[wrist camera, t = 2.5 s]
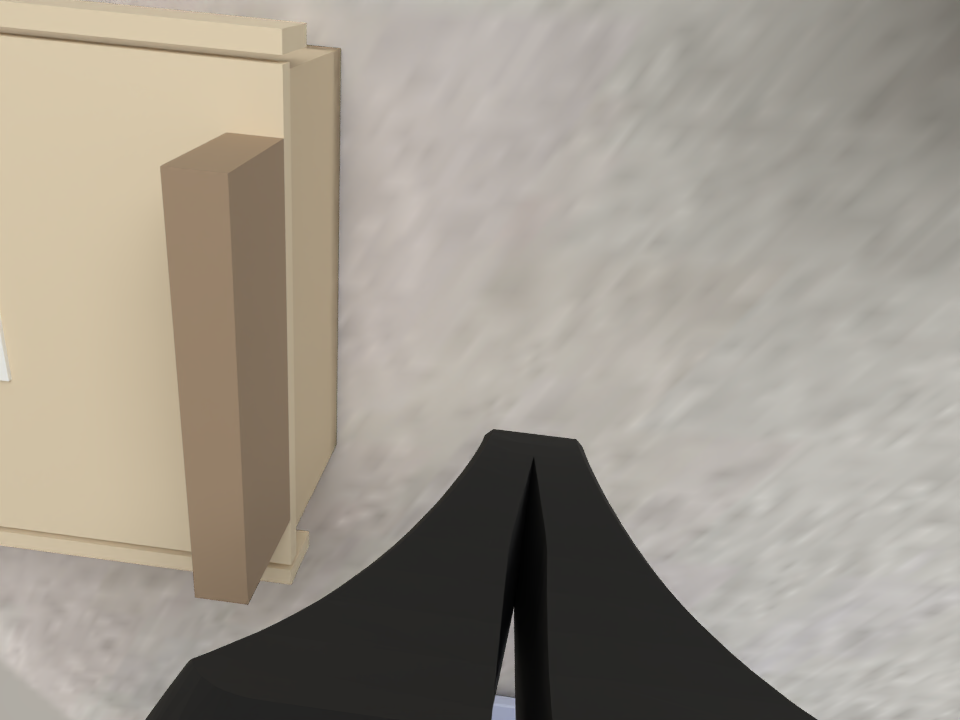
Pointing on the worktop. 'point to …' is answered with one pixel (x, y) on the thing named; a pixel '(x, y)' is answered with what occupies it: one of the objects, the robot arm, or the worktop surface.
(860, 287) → the worktop surface
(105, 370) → the lid
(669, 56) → the worktop surface
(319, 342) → the mailer box
